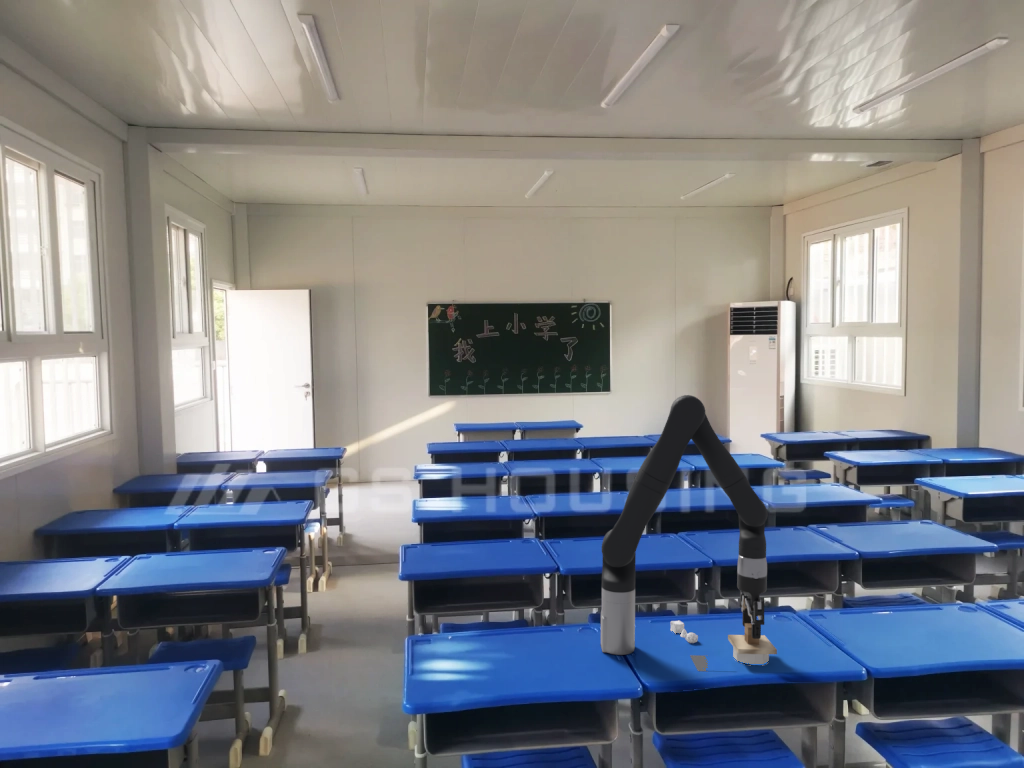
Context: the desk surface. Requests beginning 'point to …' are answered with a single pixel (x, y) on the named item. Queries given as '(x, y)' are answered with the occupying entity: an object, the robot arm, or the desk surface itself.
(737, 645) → the lid
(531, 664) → the desk surface
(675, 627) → the game pieces
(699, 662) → the mat
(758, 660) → the bowl
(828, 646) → the desk surface
